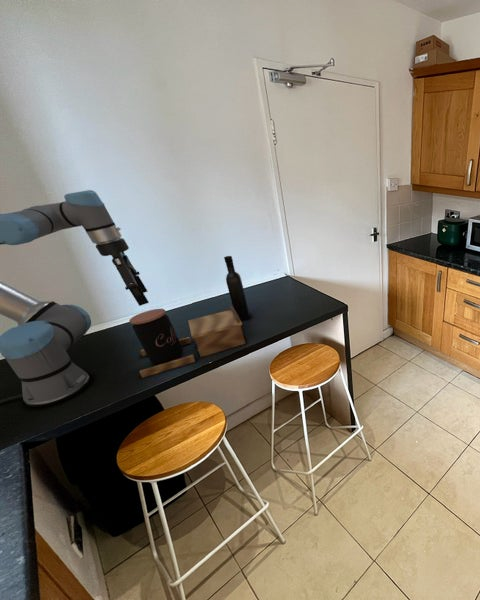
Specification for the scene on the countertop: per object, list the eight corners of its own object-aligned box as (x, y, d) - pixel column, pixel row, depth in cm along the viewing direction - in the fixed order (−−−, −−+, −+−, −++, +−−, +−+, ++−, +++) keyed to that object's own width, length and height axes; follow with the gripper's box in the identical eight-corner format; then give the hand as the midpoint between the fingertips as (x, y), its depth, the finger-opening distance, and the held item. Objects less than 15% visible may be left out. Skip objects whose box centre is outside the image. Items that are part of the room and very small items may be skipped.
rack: (142, 378, 109) (128, 349, 104) (142, 355, 121) (130, 328, 115) (247, 345, 127) (240, 319, 122) (239, 328, 139) (232, 303, 133)
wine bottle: (236, 321, 144) (220, 259, 130) (236, 316, 148) (220, 255, 135) (250, 319, 146) (235, 257, 133) (249, 313, 150) (235, 254, 137)
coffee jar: (167, 366, 113) (145, 322, 106) (144, 365, 115) (121, 322, 108) (190, 349, 122) (172, 308, 115) (169, 348, 125) (149, 308, 117)
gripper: (122, 244, 94) (157, 304, 104) (123, 232, 112) (154, 284, 122) (90, 252, 90) (130, 314, 100) (97, 238, 108) (131, 292, 118)
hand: (143, 298), depth 111 cm, fingers open, 13 cm apart
